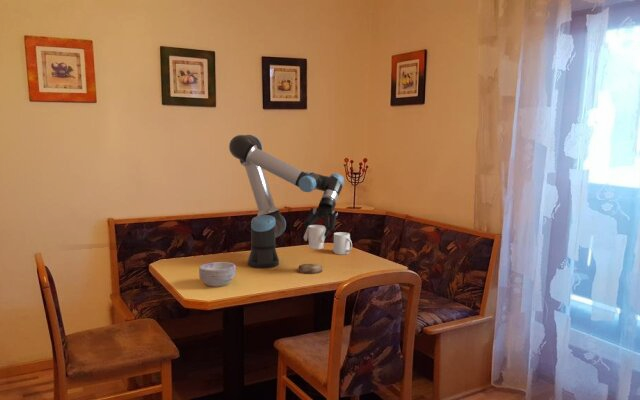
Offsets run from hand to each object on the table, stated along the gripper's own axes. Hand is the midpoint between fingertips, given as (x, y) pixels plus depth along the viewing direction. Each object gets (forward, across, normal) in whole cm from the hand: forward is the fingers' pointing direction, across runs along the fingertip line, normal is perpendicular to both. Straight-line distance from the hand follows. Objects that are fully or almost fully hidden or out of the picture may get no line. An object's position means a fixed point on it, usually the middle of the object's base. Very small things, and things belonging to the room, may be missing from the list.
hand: (313, 240), depth 235 cm
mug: (-19, +1, -41) cm, 46 cm away
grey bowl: (+35, +29, +12) cm, 47 cm away
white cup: (+1, 0, -6) cm, 6 cm away
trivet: (+9, +2, -13) cm, 16 cm away
